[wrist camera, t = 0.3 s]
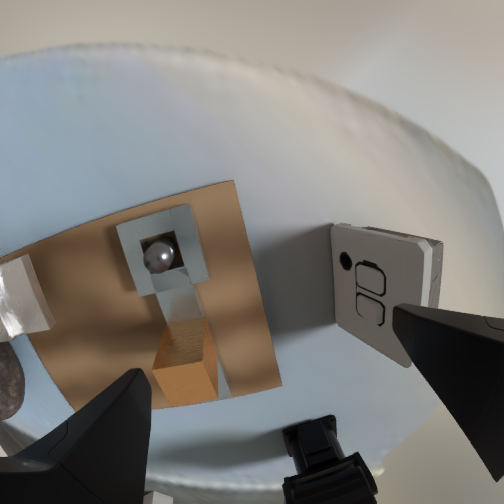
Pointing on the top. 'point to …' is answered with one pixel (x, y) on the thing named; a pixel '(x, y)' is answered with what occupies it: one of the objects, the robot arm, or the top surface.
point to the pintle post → (160, 254)
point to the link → (178, 308)
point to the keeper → (22, 300)
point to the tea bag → (157, 498)
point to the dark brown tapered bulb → (10, 382)
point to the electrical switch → (382, 282)
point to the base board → (148, 301)
